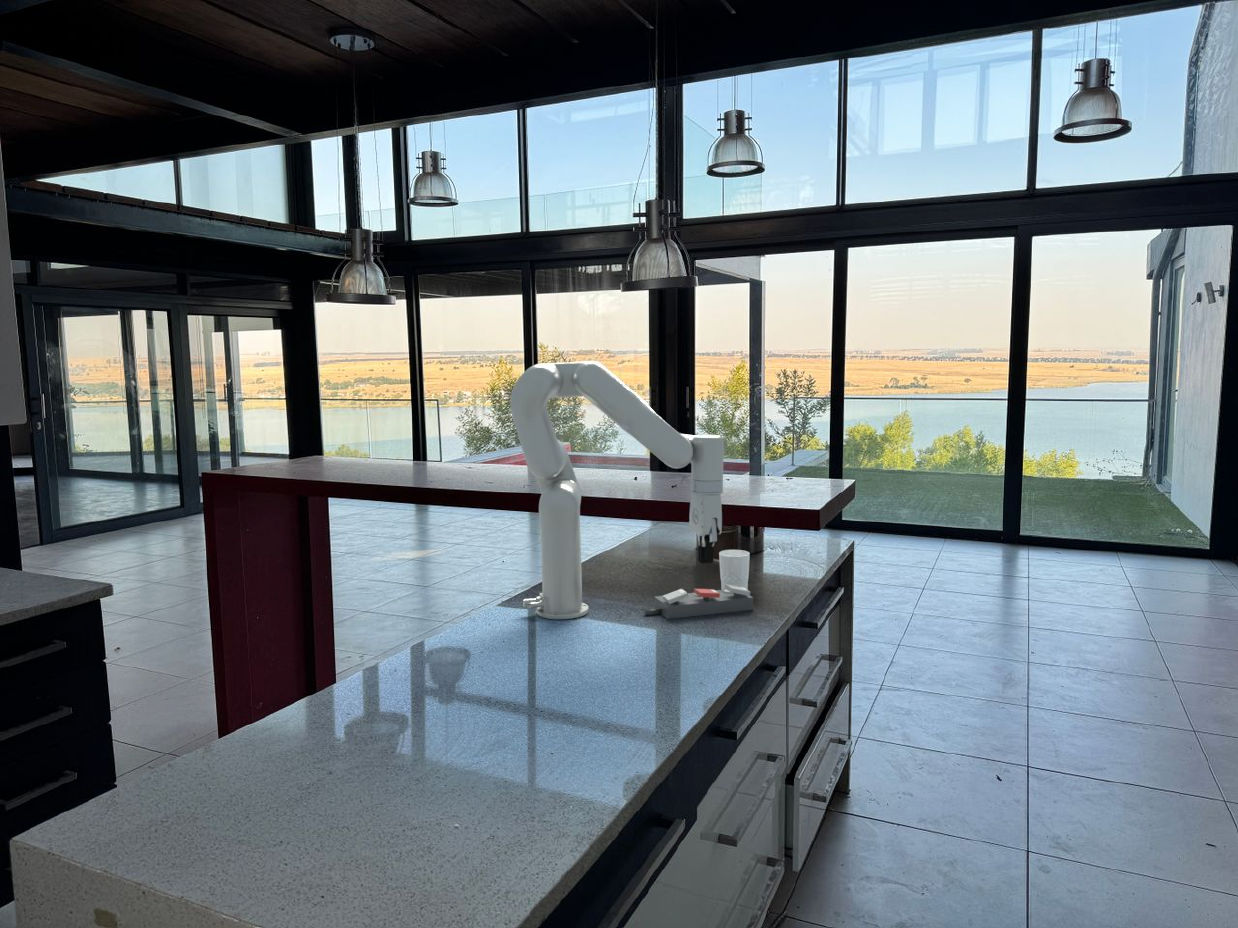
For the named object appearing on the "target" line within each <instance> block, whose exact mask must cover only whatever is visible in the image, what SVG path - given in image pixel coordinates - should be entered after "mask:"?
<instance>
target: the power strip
mask: <svg viewBox="0 0 1238 928" xmlns="http://www.w3.org/2000/svg"><path fill="white" fill-rule="evenodd" d="M714 590H715V589H714ZM715 591H717V592H718V593H720V597H719V598H715V597H700V596H698V595H697V594H695V593H694V592H687V593H688V596H689V597H687V598H684V599H681V600H679V601H676V602H674V603H671V604H669V603H667V602H666V601H665V600H664V599H663V595H656V596H654V609H645V610H644V612H643V613H644V616H652V615H662V617H665V619H667V620H670V619H678V618H689V617H690V618H691V617H696V616H697V617H699V616H706V615H707V616H708V615H714V614H716V615H717V614H724V613H733V612H743V611H744V612H745V611H751V610H752V611H753V610H754V597H753V596H751V595H750V596H748V595H743V594H737V593H732V592H730V591H728V590H726V589H725V590H722V589H718V590H717V589H716V590H715Z"/></svg>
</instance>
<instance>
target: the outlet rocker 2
mask: <svg viewBox="0 0 1238 928" xmlns="http://www.w3.org/2000/svg"><path fill="white" fill-rule="evenodd" d="M693 593H695V594H697V595H698V596H700V597H715V598H719V597H720V593H718V592H717V591H715V589H714V588H713V589H712V588H711V589H710V588H693Z"/></svg>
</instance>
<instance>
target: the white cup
mask: <svg viewBox="0 0 1238 928" xmlns="http://www.w3.org/2000/svg"><path fill="white" fill-rule="evenodd" d="M750 554H751V553H750V552H749V551H747V550H742V549H724V550H721V551H719V552H718V556H719V575H720V583H721V584H720V585H721V587H720V588H721V589H720V590H725V584H726V585H732V586H737V587H743V588H745V589H747V590H748V589H749V588H748V587H749V583H748V582H749V576H750V575H749V574H750V573H749V572H750ZM748 591H749V590H748Z"/></svg>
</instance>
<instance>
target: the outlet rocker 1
mask: <svg viewBox="0 0 1238 928" xmlns="http://www.w3.org/2000/svg"><path fill="white" fill-rule="evenodd" d="M688 593H689V592H687V591H686V590H684V589H683V588H679V589H677V590H674V591H671V592H669V593H666V594H663V595H662V596H663V599H664V600H665V601H666V602H667V603H669V604H671V603H674V602H676V601H679V600H681V599H684V598H687V597H689V596H688Z"/></svg>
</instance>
